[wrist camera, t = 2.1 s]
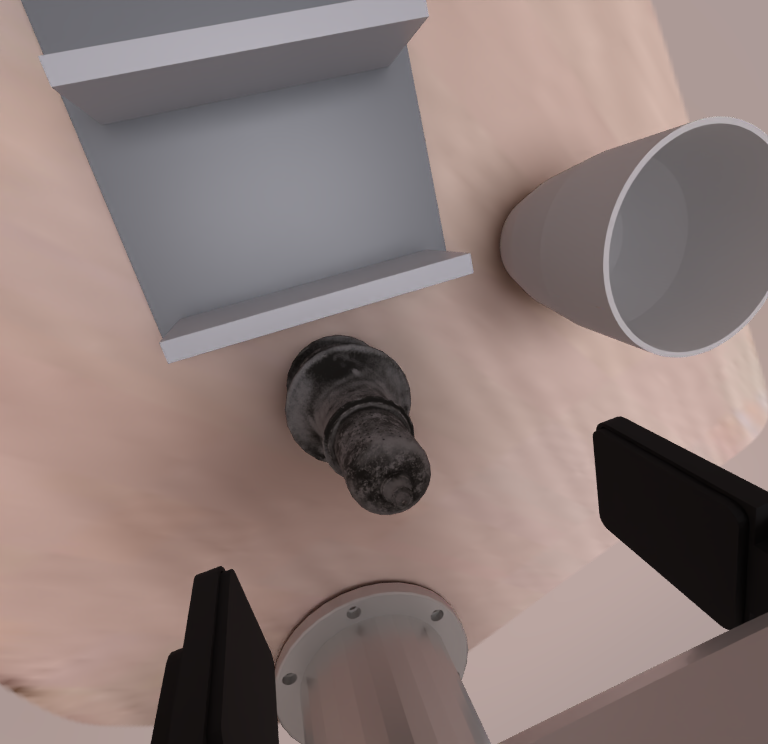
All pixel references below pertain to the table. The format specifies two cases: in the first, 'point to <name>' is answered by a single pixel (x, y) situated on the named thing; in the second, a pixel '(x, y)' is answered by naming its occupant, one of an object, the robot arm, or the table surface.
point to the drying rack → (253, 155)
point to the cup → (652, 238)
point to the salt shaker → (358, 421)
